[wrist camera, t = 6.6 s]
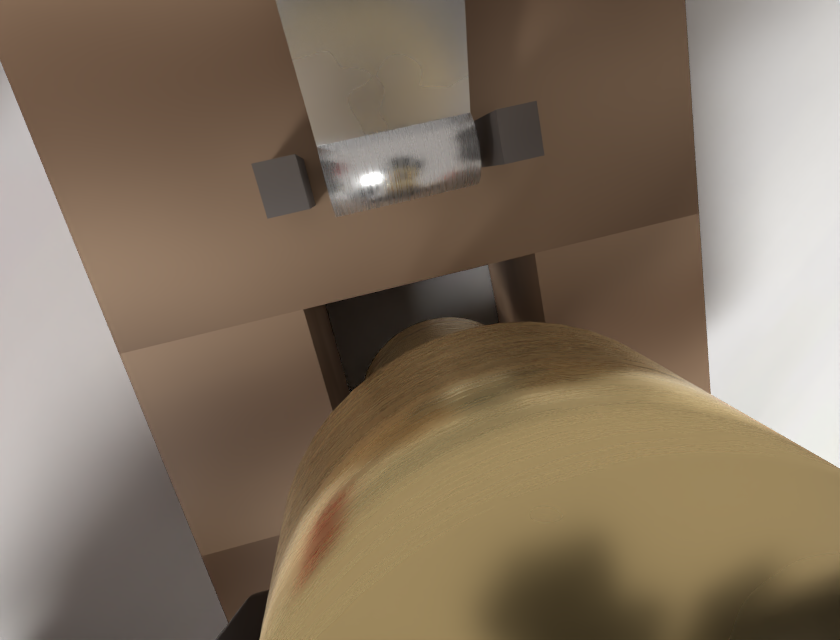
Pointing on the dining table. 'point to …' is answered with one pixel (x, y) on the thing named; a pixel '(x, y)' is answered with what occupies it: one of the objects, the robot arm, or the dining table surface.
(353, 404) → the brass pin
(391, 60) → the latch bar
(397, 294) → the dining table surface
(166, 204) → the brown rectangular block
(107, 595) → the dining table surface
